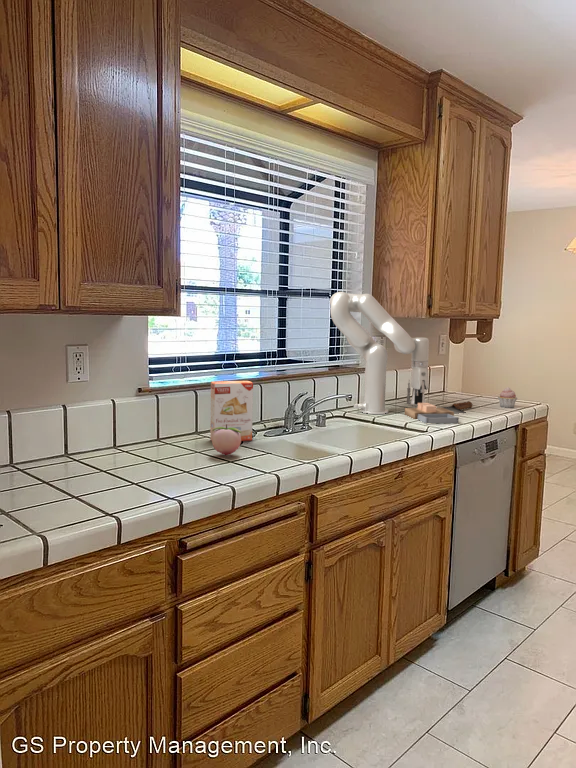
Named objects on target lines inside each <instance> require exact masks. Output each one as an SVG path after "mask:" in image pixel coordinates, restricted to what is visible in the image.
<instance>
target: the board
mask: <svg viewBox="0 0 576 768" xmlns="http://www.w3.org/2000/svg"><path fill="white" fill-rule="evenodd" d="M418 414H450V415H453V416H455V415H454V412H452V411H450V410H447V409H444V408H442V407H436V412H425V411H423V410H420V409H418V407H407V408H406V407H405V408H404V416H406V415H407V416H406V417H408V416H409V417H408V418H410V417H411V419H412V418H413V420H414V419H417V415H418Z"/></svg>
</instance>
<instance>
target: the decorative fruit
mask: <svg viewBox="0 0 576 768" xmlns="http://www.w3.org/2000/svg"><path fill="white" fill-rule="evenodd" d="M216 429H218V430H216ZM214 430H216V431H215V432H214V434H213V436H212V440H211V442H212V447H213V448H214V450H216V451H217V452H218V453H220V454H222V455H224V456H226V455H227V456H229V455H231V454H233V453H236V451H237V450H238V449H239V448H240V446H241V444H242V441H241V436H240V433H241V432H240V430H238V429H236V428H227V424H226V428H224V427H217V428H214V429H213V430H212V431H214ZM239 432H240V433H239Z"/></svg>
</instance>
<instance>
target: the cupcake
mask: <svg viewBox="0 0 576 768" xmlns="http://www.w3.org/2000/svg"><path fill="white" fill-rule="evenodd" d="M516 396H517V395H516V392H515V390H512V389H511V387H509V386H508V387H506V388H504V389H503V390H502V391H501V392H500V393H499V396H497V398H498V401H499V406H500V407H501V408H503V407H505V408H506V409H513V408H515V405H516V402H517V400H518V397H516ZM505 408H504V409H505Z"/></svg>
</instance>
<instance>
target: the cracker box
mask: <svg viewBox="0 0 576 768" xmlns="http://www.w3.org/2000/svg"><path fill="white" fill-rule="evenodd" d="M253 401H254V383H253V382H252V381H249V380H229V381H228V380H226V381H225V380H224V381H222V380H221V381H210V425H209V427H210V433H209V435H210V437H209V438H210V440H211V441H212V436H213V434H214V432H215V431H216V430H218V429H216V430H214V431H212V430H213V429H214V428H217V427H224V428H226V424H227V428H236V429H238V430H240V432H241V433H240V432H239V433H240V436H241V442H245V441H247V442H248V441H253V414H254V413H253V405H254V403H253Z"/></svg>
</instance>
